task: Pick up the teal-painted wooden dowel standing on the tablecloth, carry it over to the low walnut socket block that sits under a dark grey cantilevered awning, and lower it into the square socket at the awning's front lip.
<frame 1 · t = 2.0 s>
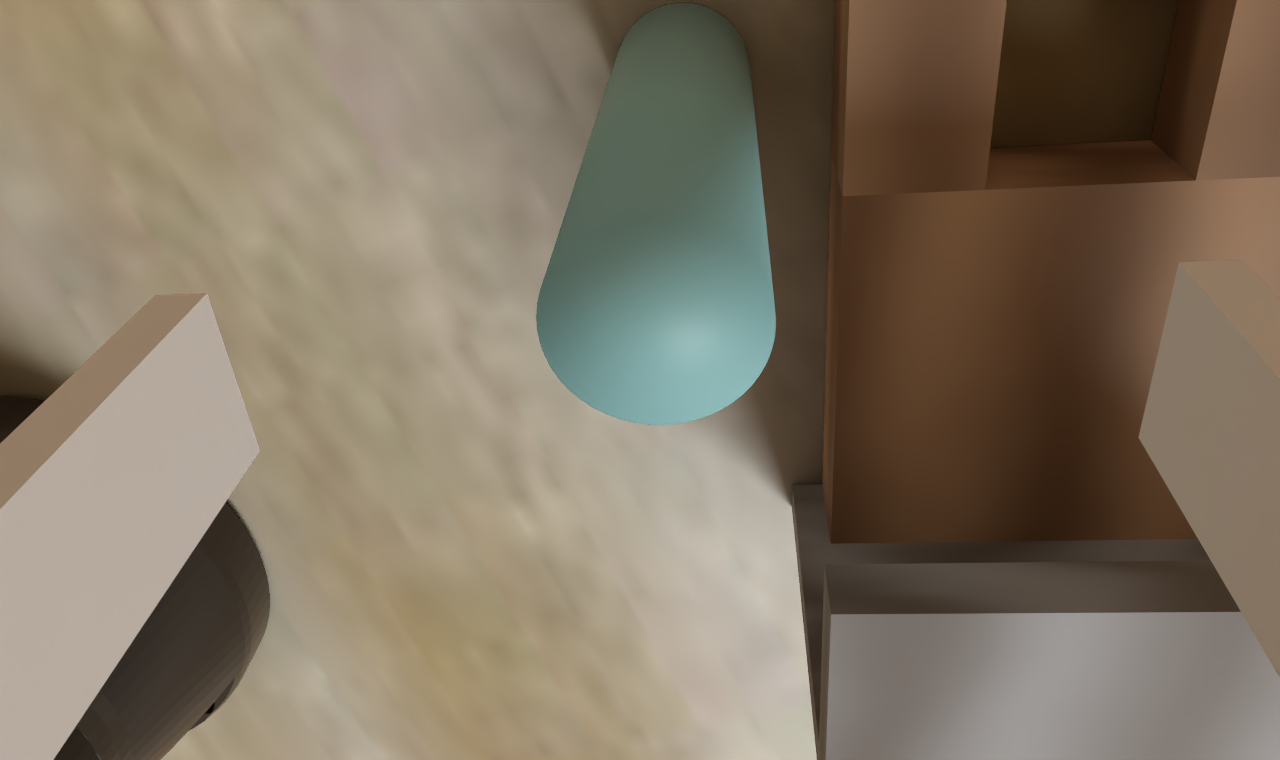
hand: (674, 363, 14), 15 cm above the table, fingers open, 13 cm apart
socket station: (1047, 196, 28), on the table
peg: (682, 72, 27), on the table
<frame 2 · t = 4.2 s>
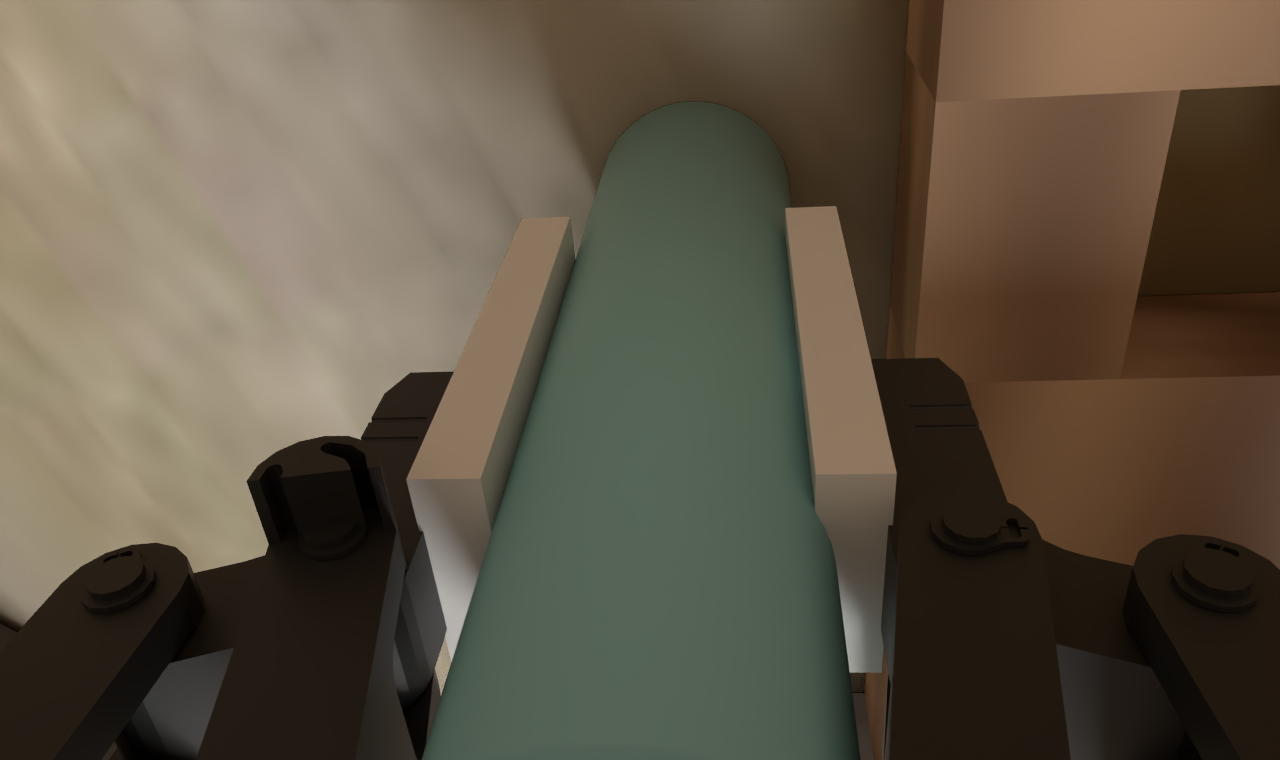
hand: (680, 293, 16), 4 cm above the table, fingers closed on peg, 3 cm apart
socket station: (1186, 360, 20), on the table
peg: (694, 194, 19), on the table, touching gripper
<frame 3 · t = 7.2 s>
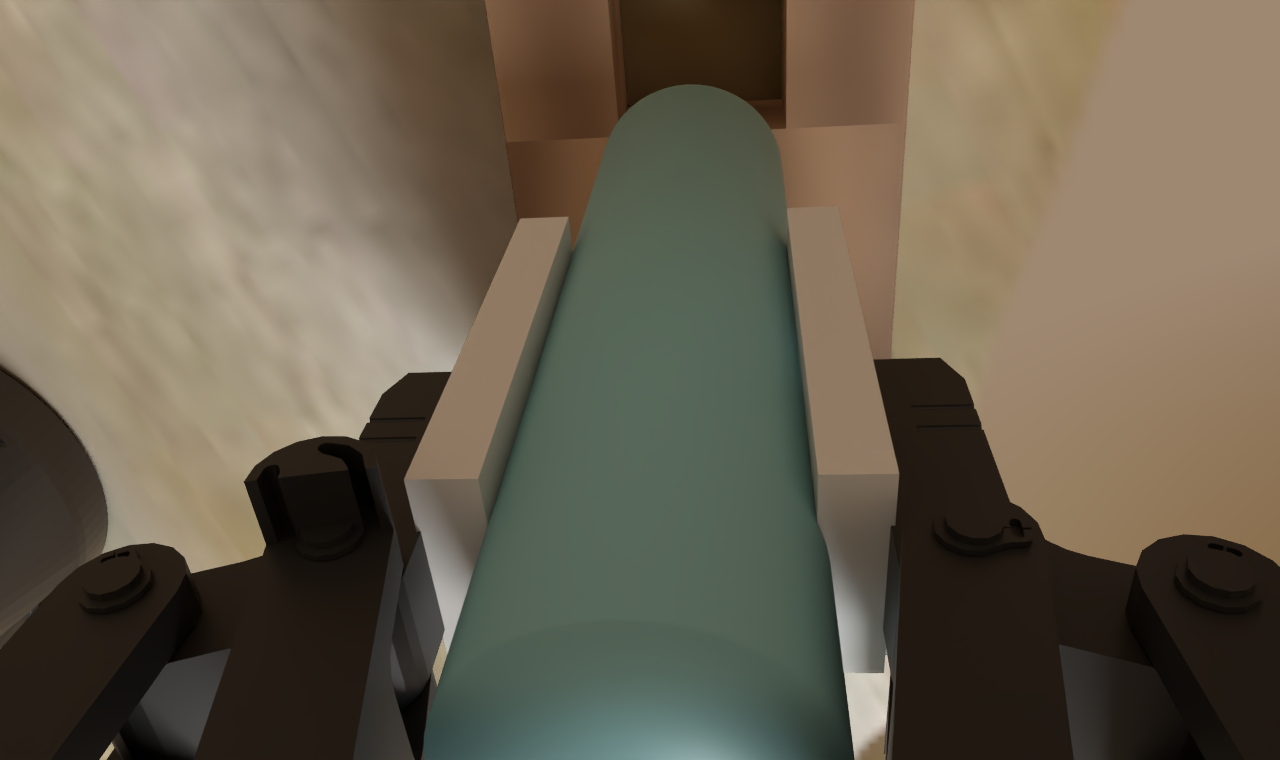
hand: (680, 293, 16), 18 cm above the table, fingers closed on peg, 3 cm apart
socket station: (705, 147, 33), on the table
peg: (691, 173, 20), point 13 cm above the table, touching gripper
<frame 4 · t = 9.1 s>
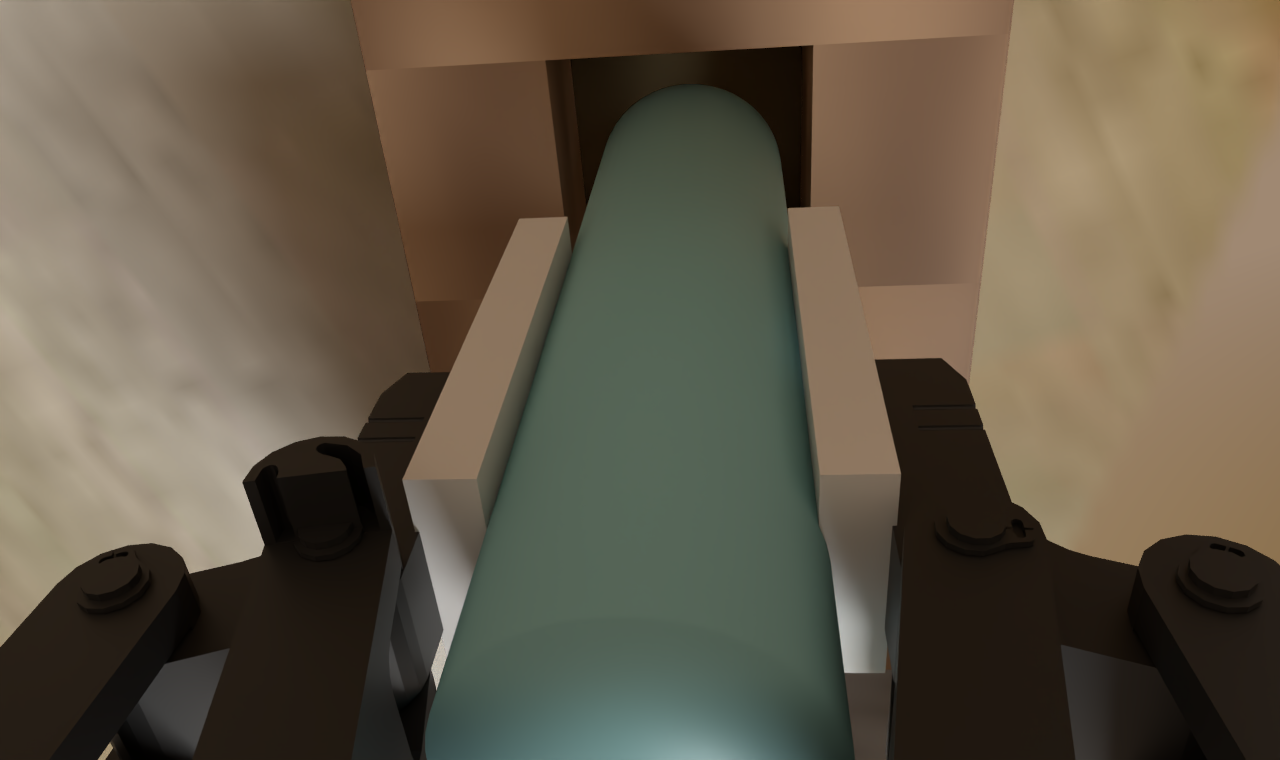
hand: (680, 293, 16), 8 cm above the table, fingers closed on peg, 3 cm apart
socket station: (696, 291, 25), on the table
peg: (691, 173, 20), point 3 cm above the table, touching gripper
when the fingers open (6 cm above the table, at t = 10.5 s): peg stays where it is, resting in socket station.
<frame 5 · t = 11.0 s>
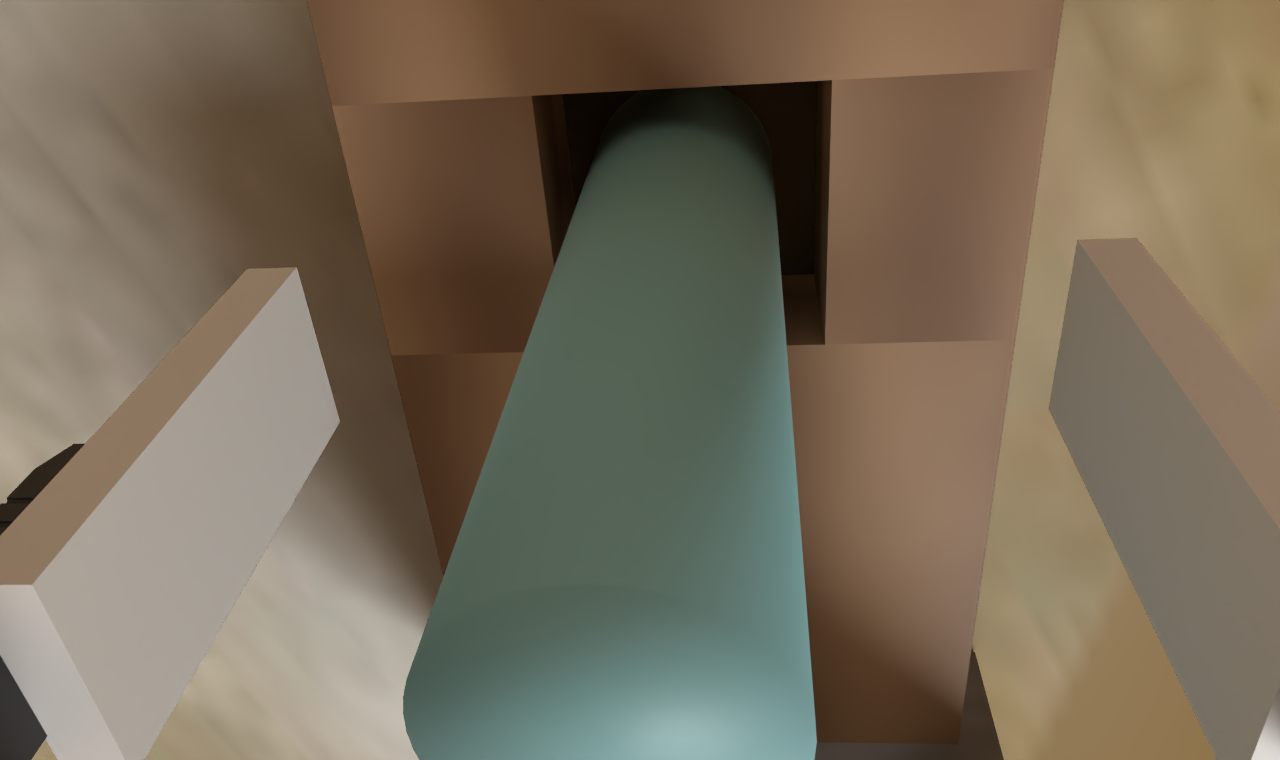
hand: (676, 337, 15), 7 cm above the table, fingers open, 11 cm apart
socket station: (700, 338, 23), on the table
peg: (683, 167, 21), resting in socket station
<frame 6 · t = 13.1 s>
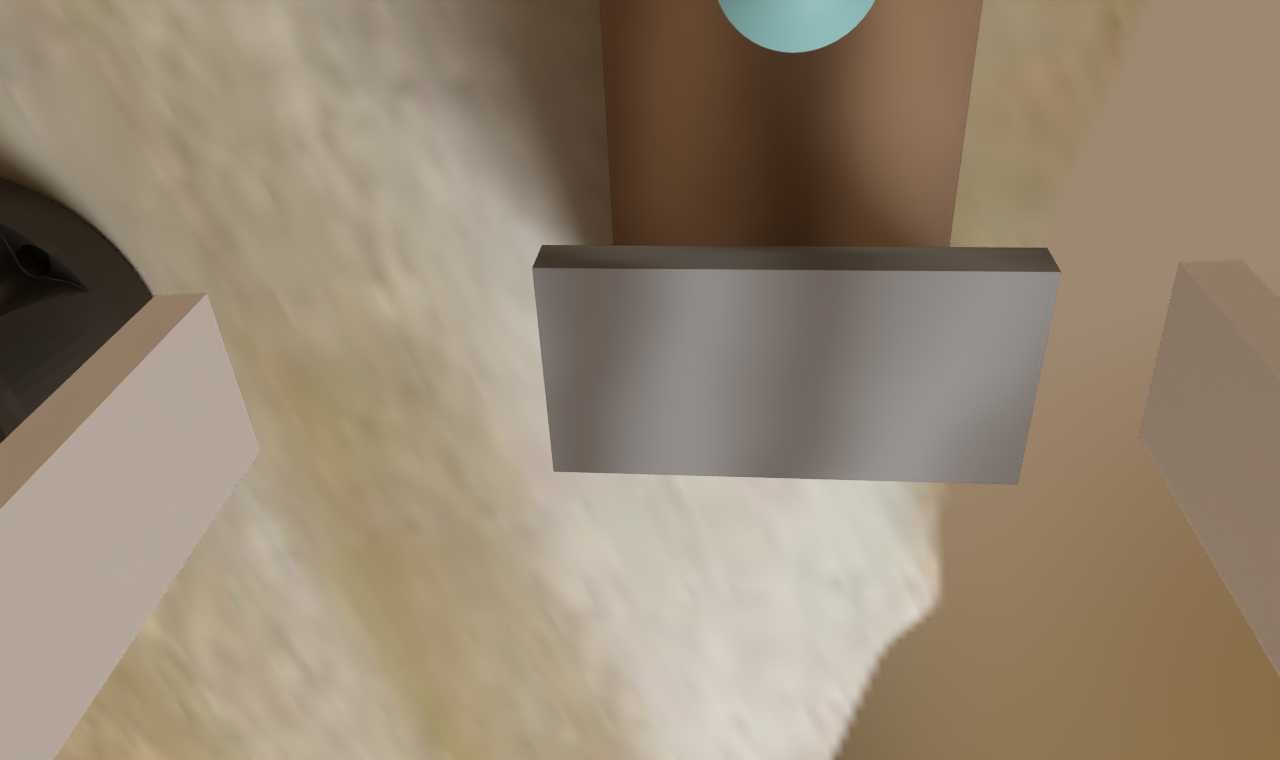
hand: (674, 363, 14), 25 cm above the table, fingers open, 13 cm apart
socket station: (784, 13, 35), on the table
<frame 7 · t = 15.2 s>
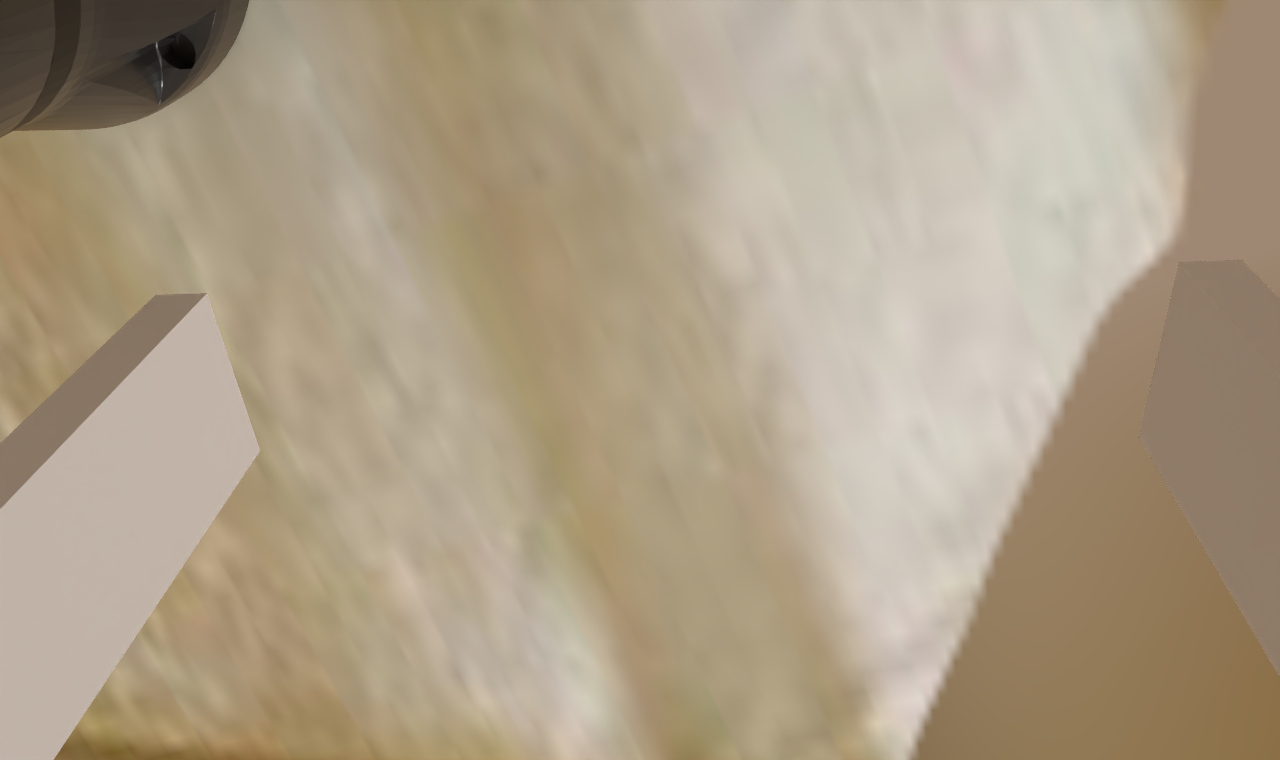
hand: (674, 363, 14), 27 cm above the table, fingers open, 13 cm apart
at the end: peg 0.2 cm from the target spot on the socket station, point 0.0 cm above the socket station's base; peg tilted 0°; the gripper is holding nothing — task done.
